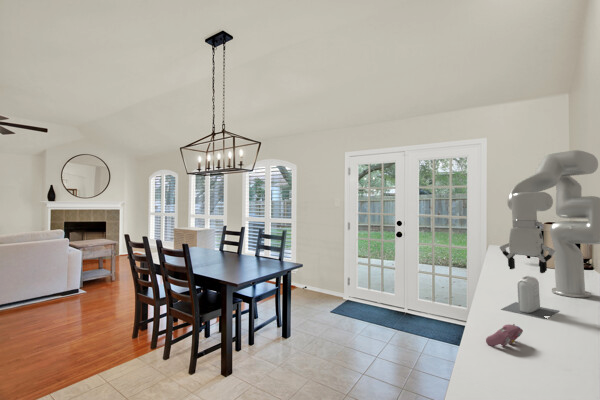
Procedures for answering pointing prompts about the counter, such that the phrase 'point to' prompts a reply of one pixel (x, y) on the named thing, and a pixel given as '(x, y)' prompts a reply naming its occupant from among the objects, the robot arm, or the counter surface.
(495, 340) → the video game controller
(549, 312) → the dark gray panel
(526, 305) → the photo printer
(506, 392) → the counter surface
